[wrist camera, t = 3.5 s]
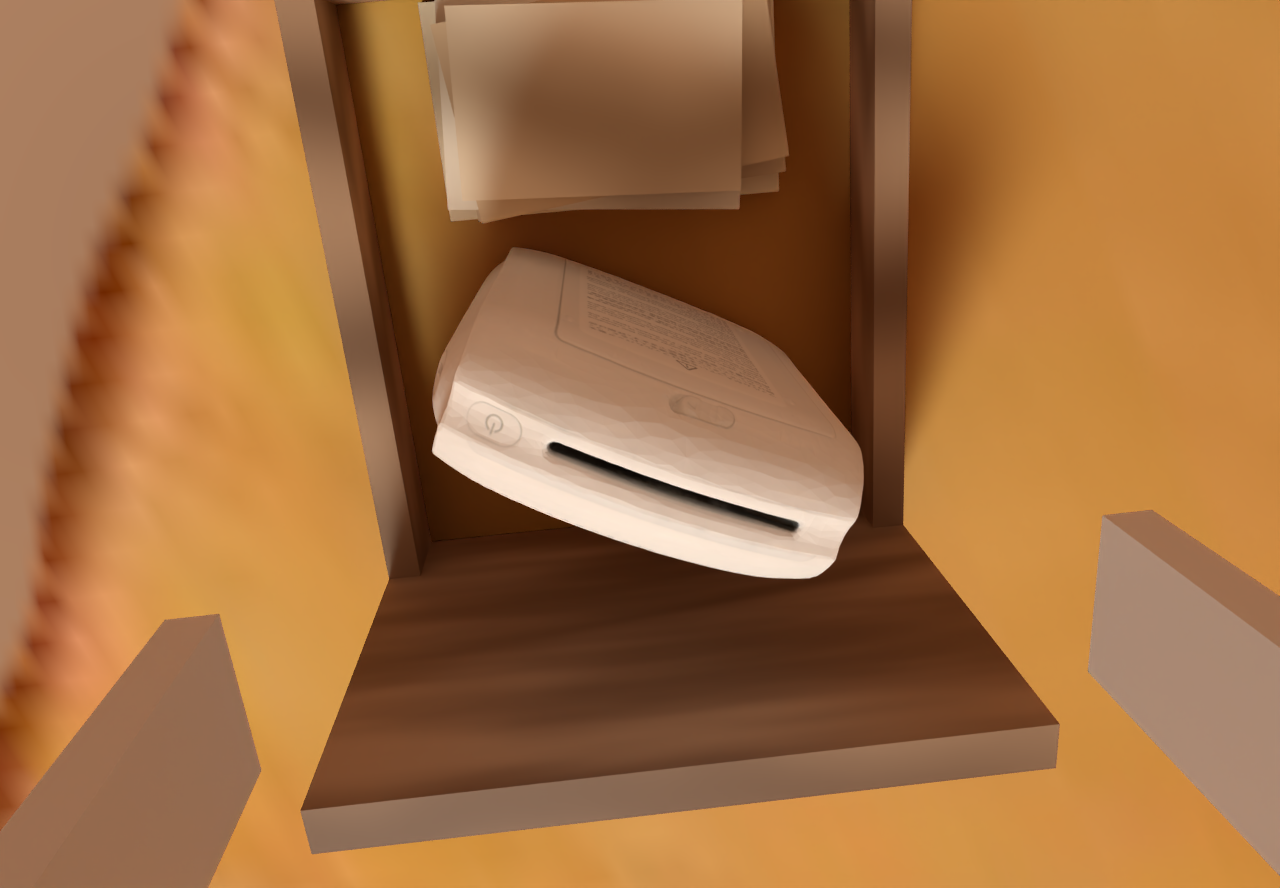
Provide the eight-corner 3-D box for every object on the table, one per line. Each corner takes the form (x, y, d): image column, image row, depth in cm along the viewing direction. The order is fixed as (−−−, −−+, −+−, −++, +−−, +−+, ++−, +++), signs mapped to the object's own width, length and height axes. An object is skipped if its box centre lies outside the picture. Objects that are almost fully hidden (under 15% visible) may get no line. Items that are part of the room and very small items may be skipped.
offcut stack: (419, -8, 27) (398, -23, 23) (770, -37, 27) (797, -56, 24) (454, 227, 29) (439, 243, 26) (777, 197, 29) (803, 209, 26)
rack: (295, -16, 26) (57, -119, 14) (883, -65, 27) (1141, -204, 15) (408, 575, 33) (311, 853, 21) (879, 525, 33) (1055, 768, 21)
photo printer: (455, 351, 30) (383, 505, 19) (498, 224, 29) (449, 305, 17) (744, 453, 32) (841, 650, 21) (796, 339, 31) (930, 480, 19)
